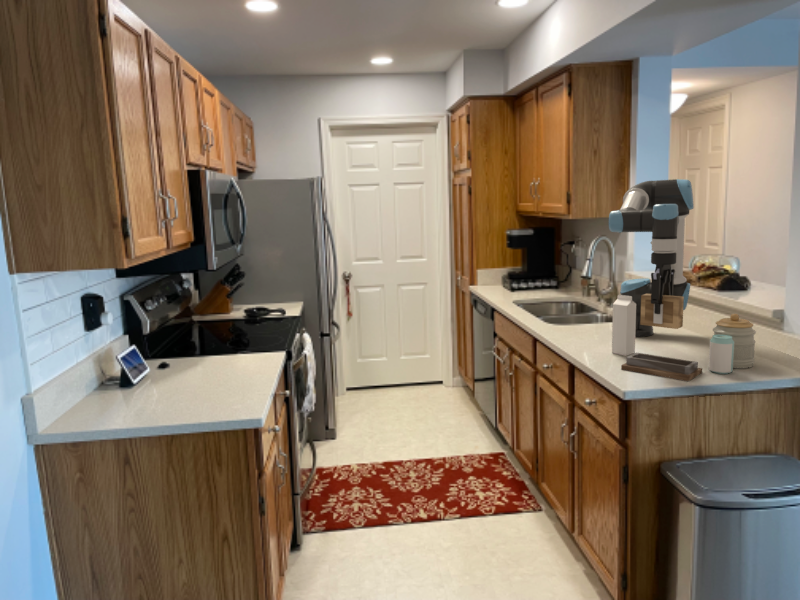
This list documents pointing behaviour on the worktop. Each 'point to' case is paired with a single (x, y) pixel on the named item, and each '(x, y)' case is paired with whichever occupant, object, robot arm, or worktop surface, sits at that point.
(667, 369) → the wooden tray
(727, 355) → the can
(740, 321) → the jar
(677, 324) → the tan wooden block
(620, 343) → the milk
